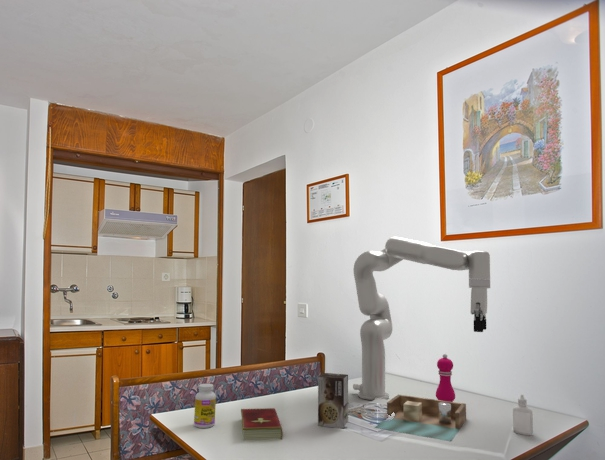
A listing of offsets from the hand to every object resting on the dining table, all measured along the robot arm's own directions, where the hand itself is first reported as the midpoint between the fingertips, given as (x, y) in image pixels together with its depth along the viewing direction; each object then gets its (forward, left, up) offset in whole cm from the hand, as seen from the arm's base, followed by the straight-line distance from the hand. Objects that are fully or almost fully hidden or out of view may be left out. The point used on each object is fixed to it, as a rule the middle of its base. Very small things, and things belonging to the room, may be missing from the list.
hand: (480, 330), depth 175 cm
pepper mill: (-13, +2, -30) cm, 33 cm away
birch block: (-19, -22, -29) cm, 41 cm away
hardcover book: (-60, -56, -31) cm, 87 cm away
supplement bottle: (-77, -63, -30) cm, 104 cm away
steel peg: (-9, -21, -29) cm, 37 cm away
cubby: (-15, -26, -30) cm, 42 cm away
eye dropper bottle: (+15, -16, -30) cm, 37 cm away
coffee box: (-41, -40, -30) cm, 65 cm away
